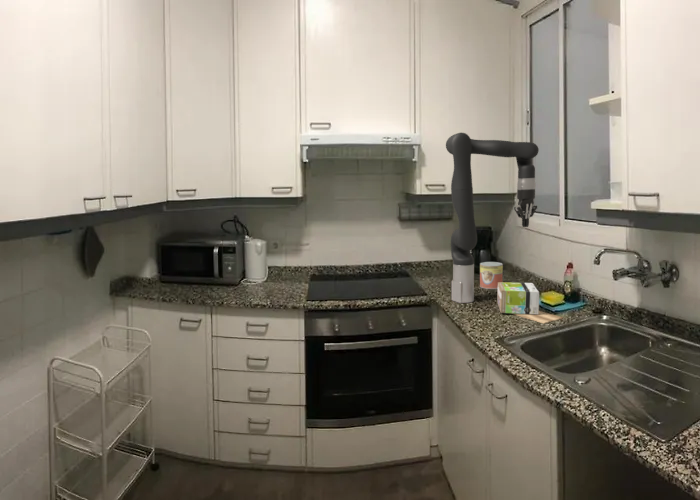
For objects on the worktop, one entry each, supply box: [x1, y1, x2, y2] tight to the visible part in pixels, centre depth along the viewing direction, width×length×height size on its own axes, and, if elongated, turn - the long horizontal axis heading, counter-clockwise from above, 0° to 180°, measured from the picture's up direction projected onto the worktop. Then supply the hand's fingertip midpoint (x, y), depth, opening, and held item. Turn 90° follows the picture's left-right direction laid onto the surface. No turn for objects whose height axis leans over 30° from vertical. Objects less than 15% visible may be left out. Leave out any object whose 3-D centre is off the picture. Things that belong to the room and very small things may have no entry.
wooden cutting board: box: [510, 310, 564, 324], centre depth 174 cm, size 11×20×1 cm, turn 28°
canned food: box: [479, 261, 504, 290], centre depth 222 cm, size 11×11×12 cm
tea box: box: [496, 281, 540, 314], centre depth 180 cm, size 15×10×15 cm
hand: (525, 226), depth 196 cm, fingers closed
